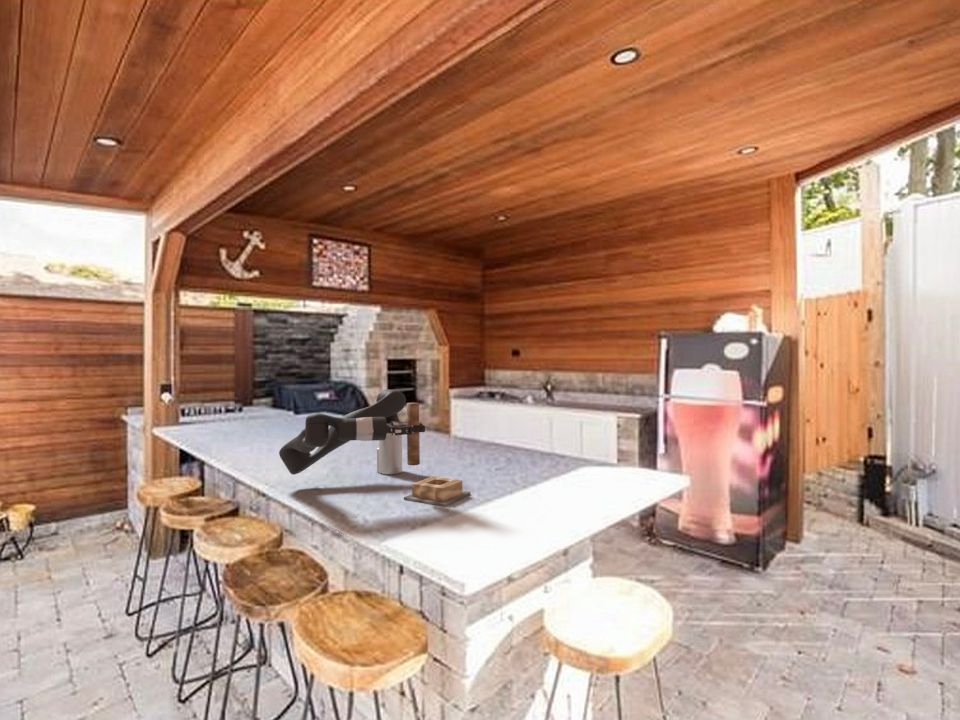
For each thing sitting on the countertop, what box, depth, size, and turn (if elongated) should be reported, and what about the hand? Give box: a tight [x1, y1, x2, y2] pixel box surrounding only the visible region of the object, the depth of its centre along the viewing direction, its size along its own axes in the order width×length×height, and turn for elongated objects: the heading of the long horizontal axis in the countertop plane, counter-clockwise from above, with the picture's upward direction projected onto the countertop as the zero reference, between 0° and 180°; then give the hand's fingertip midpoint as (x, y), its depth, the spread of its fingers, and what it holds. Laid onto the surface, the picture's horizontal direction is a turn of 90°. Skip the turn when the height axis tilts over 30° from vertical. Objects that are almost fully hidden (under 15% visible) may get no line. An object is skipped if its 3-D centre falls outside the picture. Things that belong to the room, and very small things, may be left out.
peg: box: [406, 402, 421, 466], centre depth 177 cm, size 4×4×20 cm
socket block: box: [403, 476, 471, 507], centre depth 180 cm, size 16×16×5 cm
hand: (423, 427), depth 178 cm, fingers closed on peg, 4 cm apart
